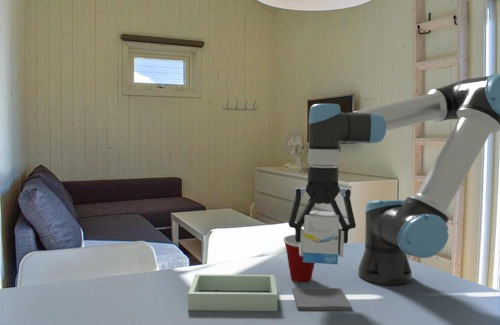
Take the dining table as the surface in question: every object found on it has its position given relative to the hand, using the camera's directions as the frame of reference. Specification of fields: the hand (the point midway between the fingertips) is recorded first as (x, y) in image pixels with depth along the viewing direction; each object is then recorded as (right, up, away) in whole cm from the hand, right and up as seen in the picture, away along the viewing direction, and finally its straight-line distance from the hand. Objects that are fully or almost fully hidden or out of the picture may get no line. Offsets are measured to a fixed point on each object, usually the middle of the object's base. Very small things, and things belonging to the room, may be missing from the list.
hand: (320, 255), depth 113 cm
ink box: (0, -1, 0) cm, 1 cm away
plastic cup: (-3, -11, +17) cm, 20 cm away
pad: (0, -12, +1) cm, 12 cm away
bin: (-22, -11, +1) cm, 25 cm away
